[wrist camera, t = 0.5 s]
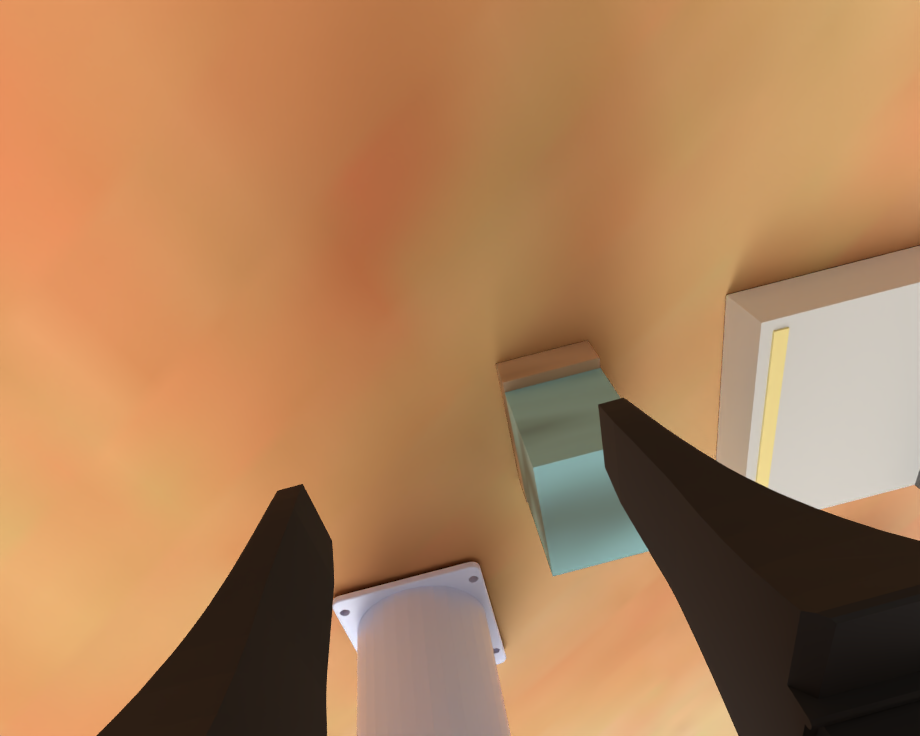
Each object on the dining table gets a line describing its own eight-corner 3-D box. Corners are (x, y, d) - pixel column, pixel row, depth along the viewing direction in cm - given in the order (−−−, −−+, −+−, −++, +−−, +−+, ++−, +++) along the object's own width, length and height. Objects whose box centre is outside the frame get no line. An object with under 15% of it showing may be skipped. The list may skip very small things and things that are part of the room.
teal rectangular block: (598, 459, 28) (650, 558, 23) (519, 480, 28) (554, 583, 23) (587, 339, 24) (646, 426, 19) (495, 363, 24) (531, 457, 19)
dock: (894, 447, 31) (969, 509, 27) (714, 494, 30) (764, 563, 27) (956, 236, 24) (1067, 278, 20) (726, 295, 24) (794, 349, 20)
